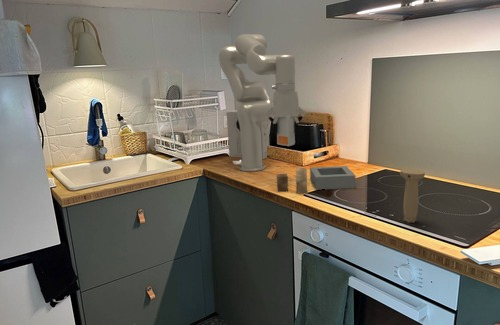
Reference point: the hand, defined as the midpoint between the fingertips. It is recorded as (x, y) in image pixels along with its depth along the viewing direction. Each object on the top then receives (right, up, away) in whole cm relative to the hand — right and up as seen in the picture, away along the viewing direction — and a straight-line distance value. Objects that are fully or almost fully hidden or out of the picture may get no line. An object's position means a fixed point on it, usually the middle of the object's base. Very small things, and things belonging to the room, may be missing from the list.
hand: (285, 132), depth 151 cm
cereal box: (-15, -9, +56) cm, 59 cm away
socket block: (+18, -20, 0) cm, 27 cm away
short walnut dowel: (-2, -23, -5) cm, 23 cm away
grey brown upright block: (+5, -23, -9) cm, 25 cm away
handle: (+33, -29, -40) cm, 60 cm away
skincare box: (0, -5, +1) cm, 5 cm away
